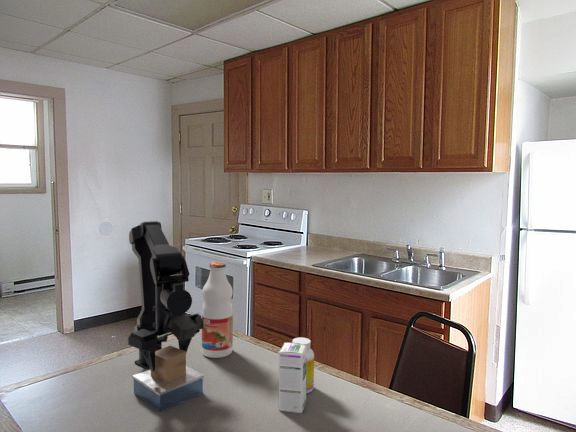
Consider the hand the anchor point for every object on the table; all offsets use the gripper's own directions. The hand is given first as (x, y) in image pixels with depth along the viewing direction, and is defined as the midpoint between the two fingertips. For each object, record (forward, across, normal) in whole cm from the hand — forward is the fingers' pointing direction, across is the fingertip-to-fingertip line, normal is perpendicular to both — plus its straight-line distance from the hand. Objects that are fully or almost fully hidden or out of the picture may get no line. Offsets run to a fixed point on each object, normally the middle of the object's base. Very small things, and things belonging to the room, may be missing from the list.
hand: (168, 364), depth 105 cm
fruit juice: (+8, +25, +8) cm, 27 cm away
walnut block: (+3, 0, 0) cm, 3 cm away
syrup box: (+8, +14, -28) cm, 32 cm away
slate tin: (+8, 0, 0) cm, 8 cm away
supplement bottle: (+8, +22, -25) cm, 34 cm away
